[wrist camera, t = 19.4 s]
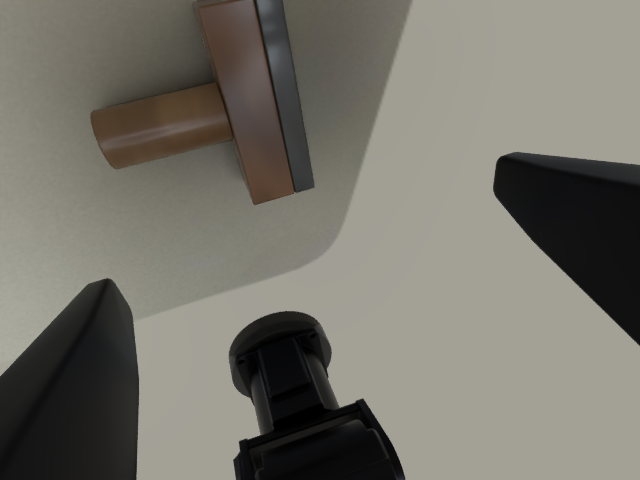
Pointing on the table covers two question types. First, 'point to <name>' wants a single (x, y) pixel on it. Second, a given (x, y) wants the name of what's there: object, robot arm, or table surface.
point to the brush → (225, 104)
